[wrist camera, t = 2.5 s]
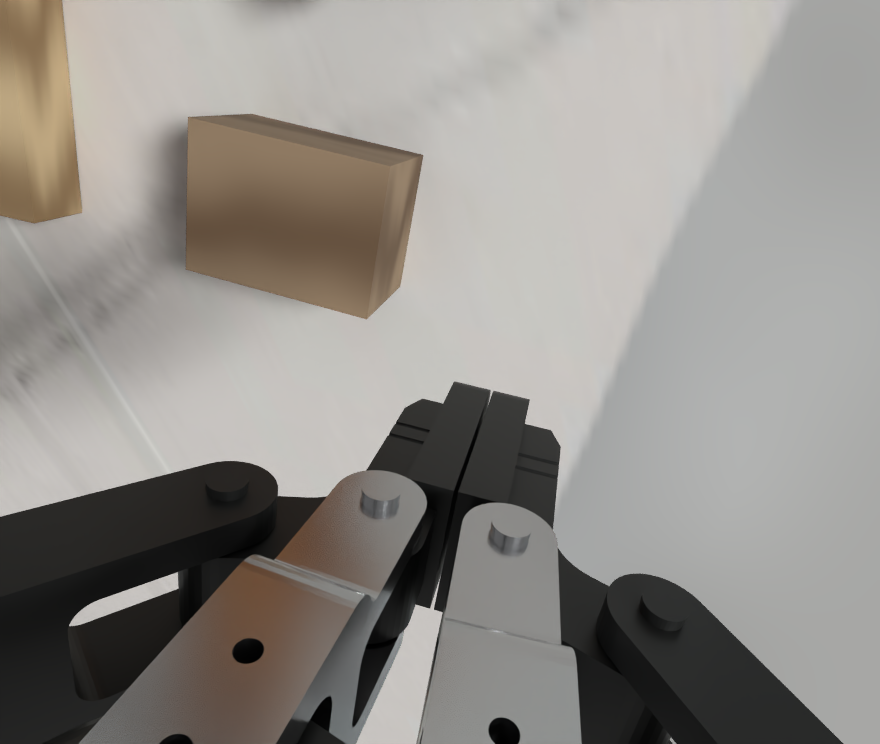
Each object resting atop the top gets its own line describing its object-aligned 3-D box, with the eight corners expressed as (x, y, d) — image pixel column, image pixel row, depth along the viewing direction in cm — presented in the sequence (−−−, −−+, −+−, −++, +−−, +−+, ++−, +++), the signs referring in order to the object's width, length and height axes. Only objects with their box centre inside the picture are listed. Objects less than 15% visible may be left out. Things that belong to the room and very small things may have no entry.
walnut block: (253, 113, 28) (188, 117, 23) (424, 154, 27) (390, 166, 22) (245, 244, 30) (185, 269, 26) (401, 285, 29) (366, 319, 25)
